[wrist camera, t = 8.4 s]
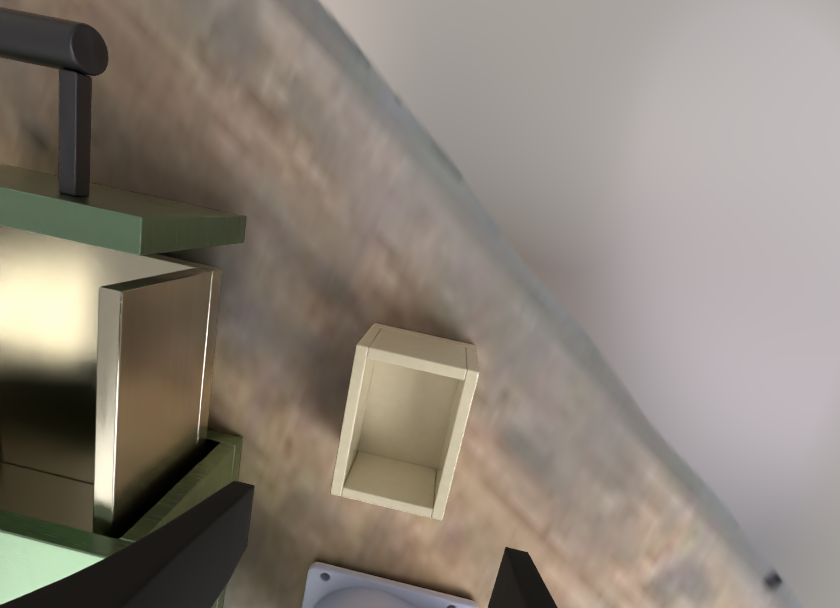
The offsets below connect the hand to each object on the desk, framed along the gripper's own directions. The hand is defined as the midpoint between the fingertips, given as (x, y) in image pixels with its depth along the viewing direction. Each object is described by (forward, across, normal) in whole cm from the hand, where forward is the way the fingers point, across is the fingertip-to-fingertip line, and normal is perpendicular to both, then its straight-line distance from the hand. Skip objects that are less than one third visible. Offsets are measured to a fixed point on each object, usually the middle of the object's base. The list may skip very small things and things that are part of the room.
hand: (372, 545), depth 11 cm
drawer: (+8, +15, -2) cm, 17 cm away
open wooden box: (+9, 0, 0) cm, 9 cm away
